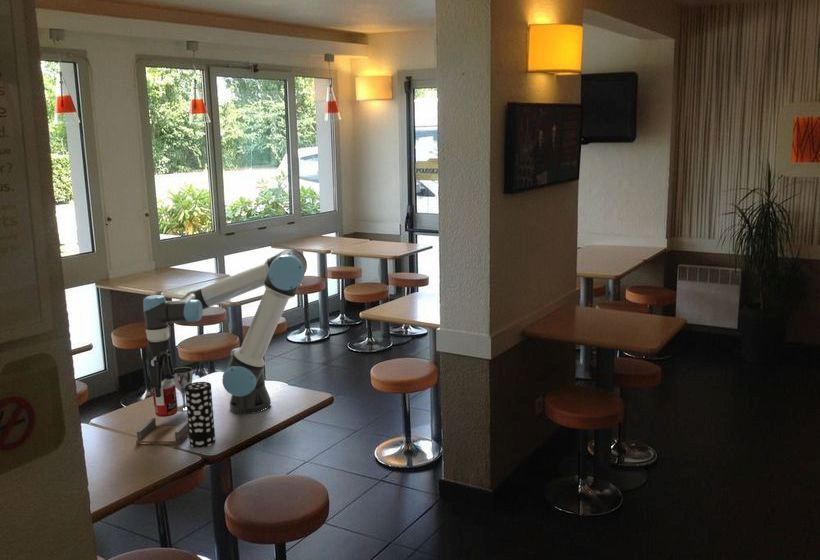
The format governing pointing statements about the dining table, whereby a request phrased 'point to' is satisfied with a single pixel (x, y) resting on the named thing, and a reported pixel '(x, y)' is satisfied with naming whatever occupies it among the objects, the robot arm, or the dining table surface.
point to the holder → (162, 433)
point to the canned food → (166, 400)
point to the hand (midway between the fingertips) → (165, 400)
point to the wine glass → (182, 382)
